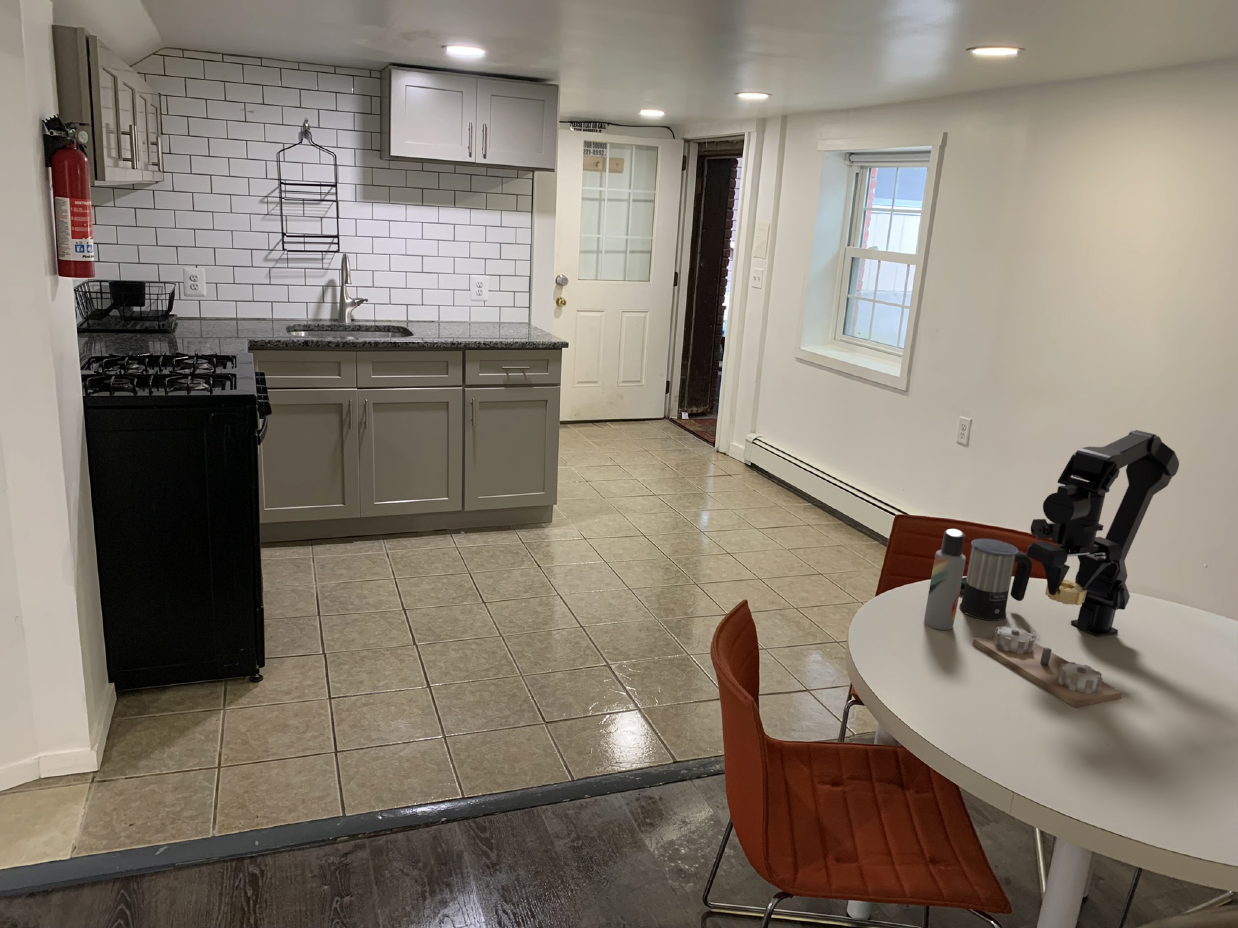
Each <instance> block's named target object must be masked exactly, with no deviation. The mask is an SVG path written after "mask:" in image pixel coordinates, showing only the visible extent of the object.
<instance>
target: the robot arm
mask: <svg viewBox="0 0 1238 928" xmlns="http://www.w3.org/2000/svg"><path fill="white" fill-rule="evenodd" d="M1069 458H1070V459H1069V460H1068V462H1067V464H1066V466H1065V467H1064V469H1063V471H1062V472H1061V474H1060V476H1059V478H1058V480H1057V484H1060V485H1059V486H1057V491H1056V492H1053V493H1050V494H1049V495H1048V496H1047V497H1046V498H1045V500H1043V504H1042V511H1043V514H1044V516H1045V517H1046V518H1036V519H1035V518H1034V519H1032V522H1031V524H1030V534H1031V535H1032V536H1035V537H1036V542H1031V543H1030V544H1028V545H1027V551H1026V553H1025V554H1026V555H1027V556H1028V557H1029V558H1030V559H1031V560H1035V561H1037V562H1038V563H1040V564H1041V565H1042V567H1043V569H1044V573H1045V579H1046V585H1047V584H1048V590H1049V594H1051V595H1055V594H1056V592H1057V591H1058V589H1059V587H1060V585H1061V583H1062V582H1063V580H1065V577H1066V575H1067V574H1068V571H1069V570H1070V568H1071V566H1070V565H1068V564H1066V563H1067V561H1068V557H1077V559H1078V562H1079V564H1078V570H1077V573H1076V574H1075V579H1074V581H1075V582H1074V583H1078V584H1080V585H1082V586H1083V587H1084V588H1085V589H1087V592H1086V597H1085V601H1084V603H1083V602H1082V604H1081V605H1080V608H1079V611H1078V617H1077V619H1073V620H1071V621H1070V623H1071V625H1074V626H1076V627H1077V628H1080V630H1081V629H1082V630H1083V631H1085V632H1087V633H1089V634H1091V635H1093V636H1096V637H1099V636H1105V635H1112V634H1117V633H1119V629H1117V628H1115V627H1113V624H1114V619H1115V615H1116V611H1117V610H1122V611H1123V610H1125V609H1126V607H1127V605H1128V604H1129V600H1130V597H1131V596H1130V593H1129V589H1128V587H1127V584H1126V582H1127V578H1128V571H1127V567H1126V563H1125V561H1126V558H1127V555H1128V554H1129V551H1130V550H1131V549H1130V548H1131V546H1132V544H1133V543H1134V540H1135V538H1136V535H1137V533H1138V530H1139V528H1140V526H1141V524H1142V522H1143V520H1144V518H1145V516H1146V513H1147V511H1148V508H1149V506H1150V504H1151V501H1152V500H1153V497H1154V495H1156V494H1157V493H1159V492H1160V491H1162V490H1163V489H1164V488H1166V487H1168V486H1169V483H1170V482H1171V480H1172V478H1173V477H1175V475H1176V474H1177V473H1178V470H1179V466H1180V462H1179V461H1180V460H1179V459H1178V456H1177V454H1176V452H1175V451H1174V450H1173V449H1172V448H1171V447H1169V446H1168V445H1166V444H1165V443H1164V442H1163V441H1162V439H1161V437H1160V436H1158V435H1157V434H1155V433H1150V432H1147V431H1143V430H1138V429H1136V430H1131V431H1130V432H1129V433H1128V434H1127V435H1125V436H1124V437H1122V438H1121V437H1120V438H1119V439H1117V440H1115V441H1112V442H1111V443H1108V444H1107V445H1104V446H1085V447H1080V448H1079V449H1077V450H1076V451H1075V452H1074V453H1073V454H1072V455H1071V457H1069ZM1124 467H1126V469H1125V473H1126V477H1127V483H1128V486H1127V487H1126V490H1125V493H1124V495H1123V497H1122V499H1121V502H1120V504H1119V507H1118V508H1117V511H1116V512H1115V513H1116V514H1115V516H1114V518H1113V520H1112V522H1111V524H1110V526H1109V529H1108V531H1107V533H1106V536H1105V538H1104V537H1102V536H1097V533H1098V532H1102V531H1103V530H1104V524H1101V523H1100V520H1101V515H1102V512H1103V511H1102V510H1103V505H1104V502H1105V498H1106V494H1107V493H1109V492H1110V490H1111V489H1110V487H1111V486H1112V485H1113V483H1114V482H1115V480H1116V479H1117V478H1119V475H1120V471H1121V470H1120V469H1123V468H1124ZM1047 520H1049V521H1050V522H1048V521H1047ZM1044 539H1045V540H1051V543H1050V542H1049V541H1040V540H1044ZM1038 540H1039V541H1038ZM1053 543H1054V544H1053ZM1055 544H1057V545H1059V546H1057V545H1055Z"/></svg>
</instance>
